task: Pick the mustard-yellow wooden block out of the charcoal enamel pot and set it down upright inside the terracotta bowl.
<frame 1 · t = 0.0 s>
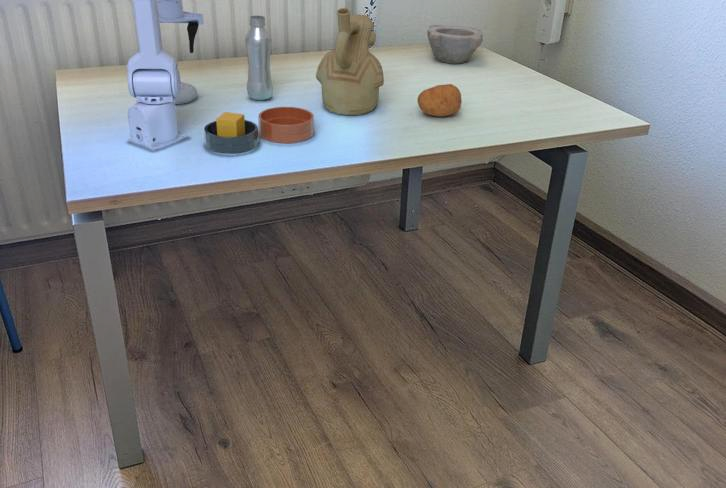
hand: (176, 51, 165), 11 cm above the table, tool pointing down, fingers open, 7 cm apart
silver bottle: (260, 99, 169), on the table
pot: (232, 145, 142), on the table
block: (232, 143, 142), resting on pot
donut: (176, 100, 166), on the table
ceramic vessel: (348, 108, 166), on the table
potato: (438, 116, 164), on the table
mortar: (452, 60, 209), on the table
bowl: (286, 135, 149), on the table
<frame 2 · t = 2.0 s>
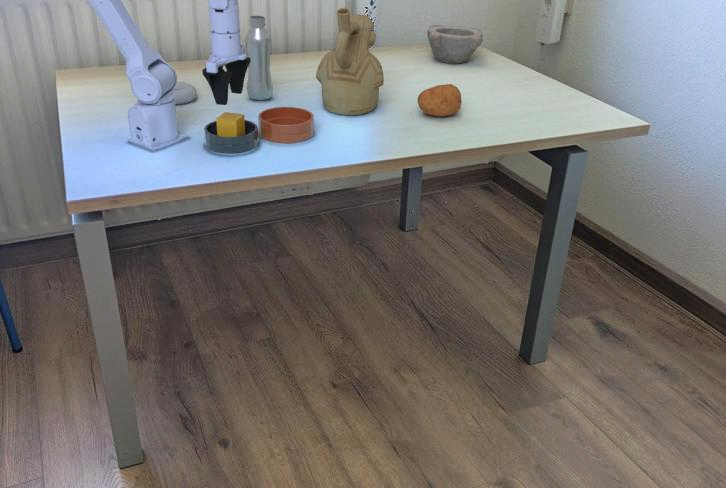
hand: (229, 98, 137), 10 cm above the table, tool pointing down, fingers open, 7 cm apart
nothing on the table moved.
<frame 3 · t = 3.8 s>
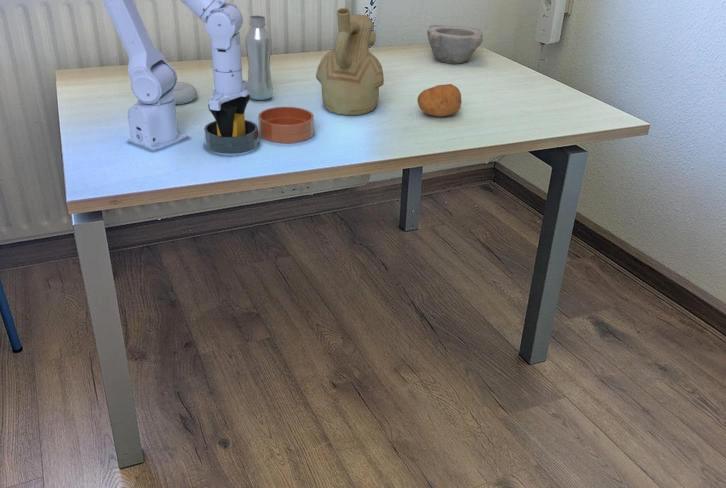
hand: (231, 132, 141), 3 cm above the table, tool pointing down, fingers closed on block, 4 cm apart
block: (232, 143, 142), point 1 cm above the table, touching gripper, pot
everything else where it was.
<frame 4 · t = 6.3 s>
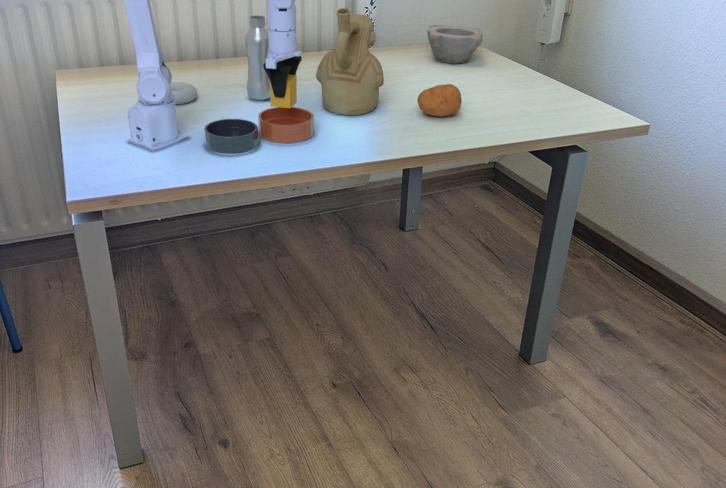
hand: (283, 93, 143), 10 cm above the table, tool pointing down, fingers closed on block, 4 cm apart
block: (283, 104, 145), point 7 cm above the table, touching gripper
everything else where it was.
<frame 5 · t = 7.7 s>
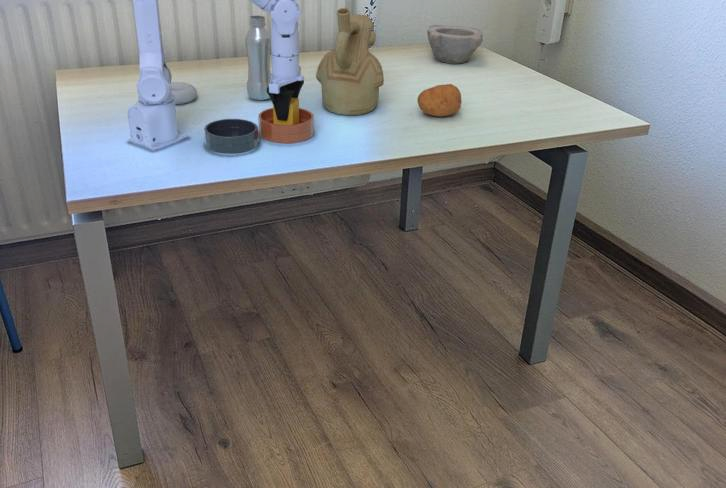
hand: (286, 116, 146), 4 cm above the table, tool pointing down, fingers closed on block, 4 cm apart
block: (286, 126, 148), point 2 cm above the table, touching gripper
everything else where it was.
when the fingers open (3 cm above the table, at t = 8.7 s): block stays where it is, resting on bowl.
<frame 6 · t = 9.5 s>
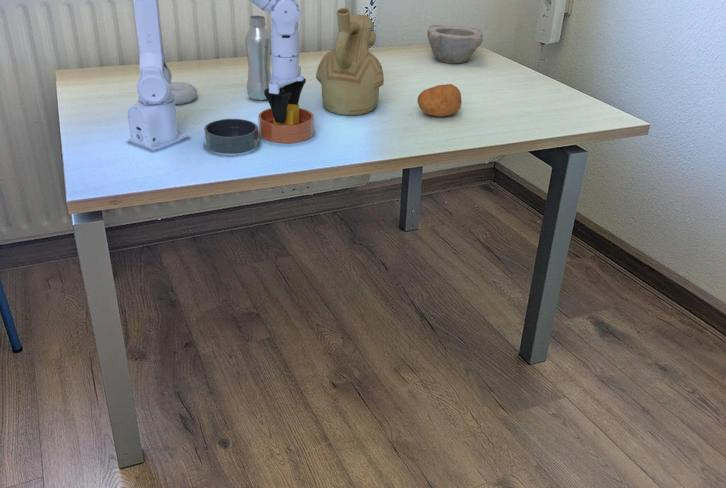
hand: (286, 116, 146), 4 cm above the table, tool pointing down, fingers open, 7 cm apart
block: (286, 133, 148), point 1 cm above the table, touching bowl
everything else where it was.
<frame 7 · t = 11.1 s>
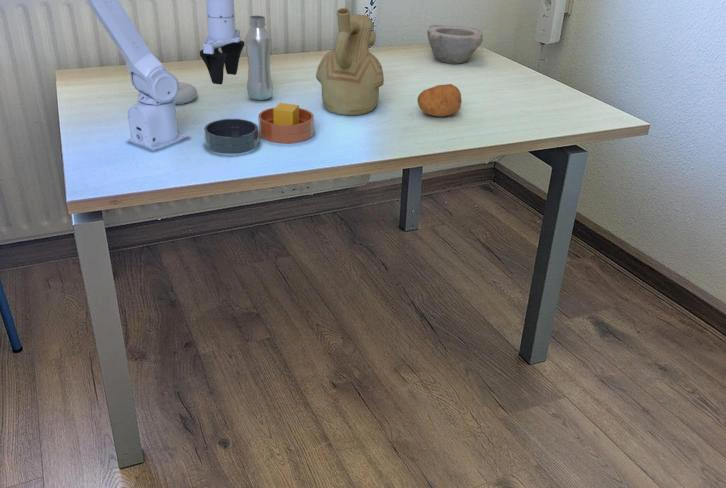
hand: (224, 78, 148), 10 cm above the table, tool pointing down, fingers open, 7 cm apart
nothing on the table moved.
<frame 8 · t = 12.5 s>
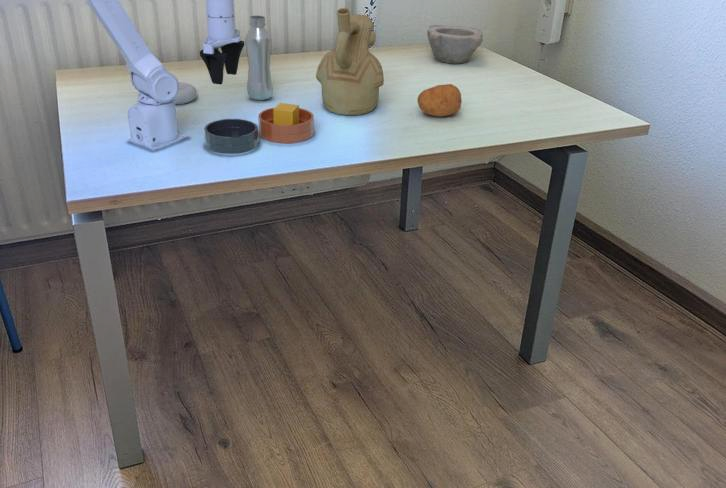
hand: (224, 78, 148), 10 cm above the table, tool pointing down, fingers open, 7 cm apart
nothing on the table moved.
at the end: block inside the target area in the bowl (0.1 cm from its centre), point 0.5 cm above the bowl's base; block tilted 0°; the gripper is holding nothing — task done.
